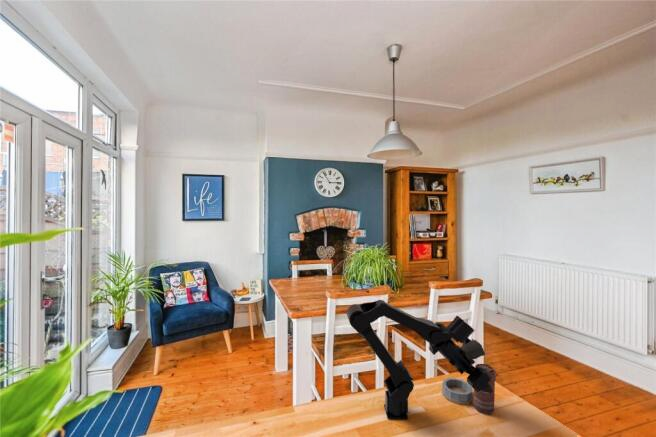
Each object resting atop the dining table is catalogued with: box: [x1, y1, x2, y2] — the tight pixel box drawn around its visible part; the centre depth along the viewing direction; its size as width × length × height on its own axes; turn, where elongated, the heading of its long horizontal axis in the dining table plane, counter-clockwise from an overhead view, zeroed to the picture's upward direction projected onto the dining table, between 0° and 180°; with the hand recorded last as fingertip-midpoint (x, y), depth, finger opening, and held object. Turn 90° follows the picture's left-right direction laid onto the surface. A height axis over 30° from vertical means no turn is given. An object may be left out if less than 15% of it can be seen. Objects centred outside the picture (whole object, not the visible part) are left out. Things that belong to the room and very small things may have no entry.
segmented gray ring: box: [441, 377, 474, 406], centre depth 106 cm, size 10×10×4 cm
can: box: [473, 363, 497, 415], centre depth 99 cm, size 6×6×14 cm
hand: (483, 383), depth 99 cm, fingers open, 9 cm apart
